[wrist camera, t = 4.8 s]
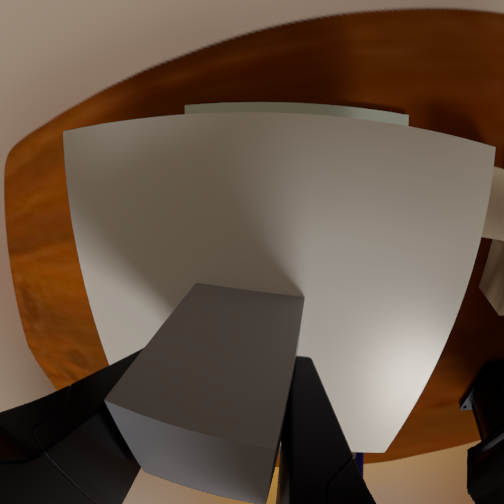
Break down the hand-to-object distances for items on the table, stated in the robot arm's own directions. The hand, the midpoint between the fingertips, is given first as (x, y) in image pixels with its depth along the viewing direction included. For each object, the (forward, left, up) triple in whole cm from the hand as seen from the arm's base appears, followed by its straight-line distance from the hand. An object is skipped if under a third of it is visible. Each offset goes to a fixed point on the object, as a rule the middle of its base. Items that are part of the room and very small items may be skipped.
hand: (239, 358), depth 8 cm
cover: (0, 0, -7) cm, 7 cm away
